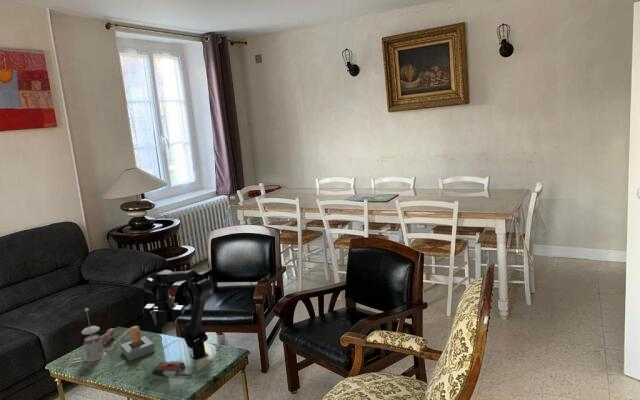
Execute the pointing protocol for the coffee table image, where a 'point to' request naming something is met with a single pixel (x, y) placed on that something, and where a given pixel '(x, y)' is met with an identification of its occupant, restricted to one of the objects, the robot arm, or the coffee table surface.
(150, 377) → the coffee table surface
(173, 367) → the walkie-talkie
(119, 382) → the coffee table surface
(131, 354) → the socket block
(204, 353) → the robot arm
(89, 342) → the french press
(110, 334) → the video game controller
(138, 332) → the peg
